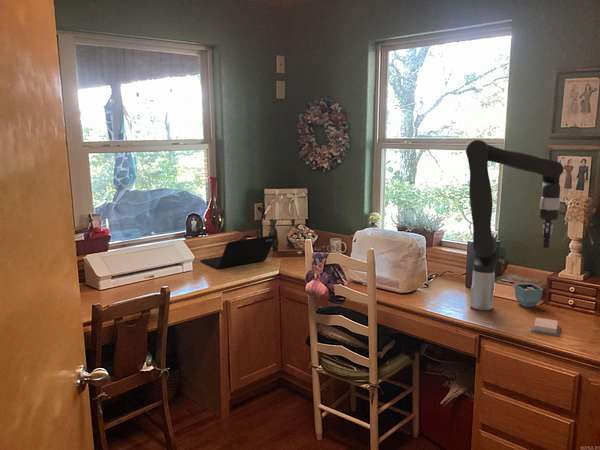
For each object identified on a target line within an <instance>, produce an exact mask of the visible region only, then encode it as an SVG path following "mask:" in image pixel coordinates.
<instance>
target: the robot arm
mask: <svg viewBox="0 0 600 450" xmlns="http://www.w3.org/2000/svg"><path fill="white" fill-rule="evenodd" d="M465 154H466V157H467V162H468V167H469V184H468V185H469V187H468V189H469V206H470V213H471V221H472V227H473V229H472V230H473V231H472V233H473V235H472V236H473V237H472V248H473V251H474V253H475V254H474V261H473V265H472V277H471V278H472V281H471V282H472V283H471V287H470V299H469V307H470V308H473V309H475V310H479V311H490V310H492V309H493V307H494V305H493V304H494V303H493V302H494V290H495V289H494V288H495V276H496V275H495V272H496V266H497V257H498V248H499V247H498V245H499V244H498V241H497V239H496V237H495V236H493V235H492V227H491V226H492V225H491V224H492V215H493V208H494V207H493V204H494V203H493V202H494V201H493V193H492V192H493V191H492V186H491V185H492V184H491V180H490V176H489V165H488V164H489V162H491V163H497V164H500V165H504V166H507V167H510V168H512V169H515V170H520V171H525V172H528V173H534V174H538V175H541V176H542V177H541V178H542V179H541V180H542V186H541V195H540V201H539V213H538V218H539V219H540V220H544V222H542V234H543V237H542V238H543V244H542V245H543V246H542V247H543V248H544V249H549V248H550V242H551V241H550V240H551V236H552V233H553V229H554V222H552V221H555V220H556V221H557V220H559V218H560V217H559V216H560V206H561V203H560V201H561V200H560V198H561V185H560V180H561V179H560V176H561V175H562V174H563V172H564V166H563V164H562V163H561V162H559V161H557V160H553V159H547V158H542V157H539V156H536V155H533V154H529V153H524V152H519V151H515V150H514V151H513V150H509V149H503V148H499V147H496V146H493V145H491V144H489V143H486V142H485V141H484V140H482V139H474V140H471V141H470V142H468V144H467V145H466V147H465Z"/></svg>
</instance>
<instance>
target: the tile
mask: <svg viewBox="0 0 600 450" xmlns="http://www.w3.org/2000/svg"><path fill="white" fill-rule="evenodd" d="M534 322H535V324H534V330H535V331H541V332H547V333H553V334H556V332H557V326H558V320H555V319H549V318H548V319H547V318H541V317H535V320H534Z"/></svg>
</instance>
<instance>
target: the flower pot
mask: <svg viewBox="0 0 600 450" xmlns="http://www.w3.org/2000/svg"><path fill="white" fill-rule="evenodd" d="M527 287H533V288H534V289H535V290H525V288H527ZM514 294H515V299H516V301H517V303H518V304H519V305H520V306H521V307H522V306H523V307H524V308H534V307H536V306H537V305H538V303H540V300H541V298H542V294H543V288H541V287H539V286H538V285H535V284H533V283H523V284H522V283H520V284H519V283H517V284H514Z"/></svg>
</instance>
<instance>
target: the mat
mask: <svg viewBox="0 0 600 450" xmlns="http://www.w3.org/2000/svg"><path fill="white" fill-rule="evenodd" d="M534 324H535V321H534V322H532V323H531V328H530V332H533V333H539V334H546V335H551V336H557V337H559V336H560V329H561V326H559V325H557V332H556V334H553V333H547V332H541V331H535V330H534Z"/></svg>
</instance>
